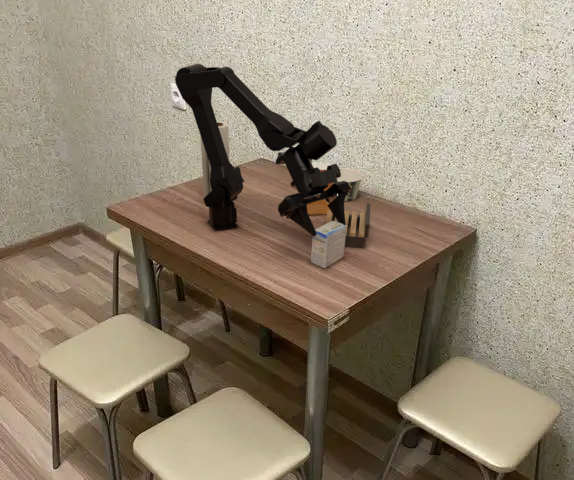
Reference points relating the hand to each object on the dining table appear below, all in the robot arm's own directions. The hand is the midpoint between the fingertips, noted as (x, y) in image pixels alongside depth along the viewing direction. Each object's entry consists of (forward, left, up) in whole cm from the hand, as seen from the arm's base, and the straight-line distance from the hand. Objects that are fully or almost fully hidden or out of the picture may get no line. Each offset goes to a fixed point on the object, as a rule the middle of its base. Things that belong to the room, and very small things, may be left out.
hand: (329, 230), depth 136 cm
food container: (+24, +37, -8) cm, 45 cm away
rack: (+11, +11, -8) cm, 18 cm away
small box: (+11, +29, -8) cm, 32 cm away
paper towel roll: (-12, +47, -8) cm, 49 cm away
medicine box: (0, 0, -8) cm, 8 cm away
